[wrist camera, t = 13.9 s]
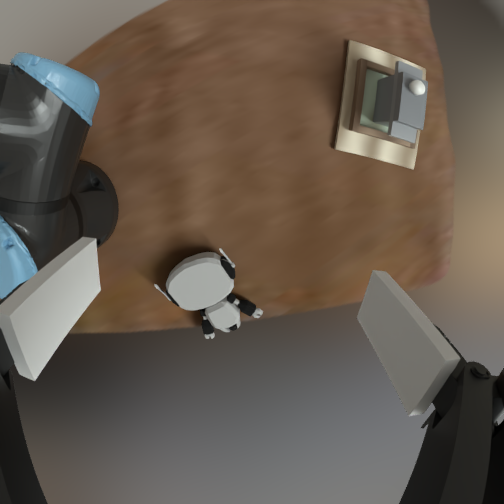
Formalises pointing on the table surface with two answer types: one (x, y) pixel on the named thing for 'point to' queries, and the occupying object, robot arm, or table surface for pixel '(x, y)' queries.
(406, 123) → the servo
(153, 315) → the table surface
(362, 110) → the pocket board
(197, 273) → the robot toy
